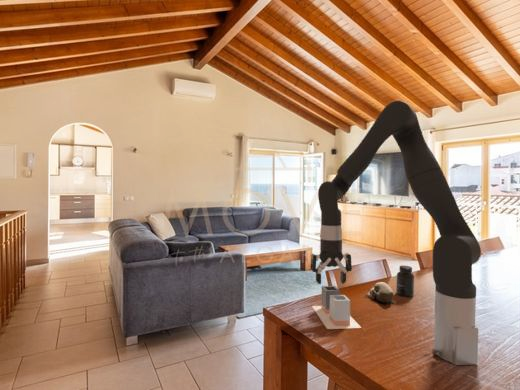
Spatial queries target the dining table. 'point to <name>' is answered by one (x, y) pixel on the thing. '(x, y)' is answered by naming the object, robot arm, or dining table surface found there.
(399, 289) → the supplement bottle
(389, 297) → the skull
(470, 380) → the dining table surface
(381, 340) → the dining table surface
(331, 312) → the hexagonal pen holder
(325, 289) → the charcoal sleeve
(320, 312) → the pin board
